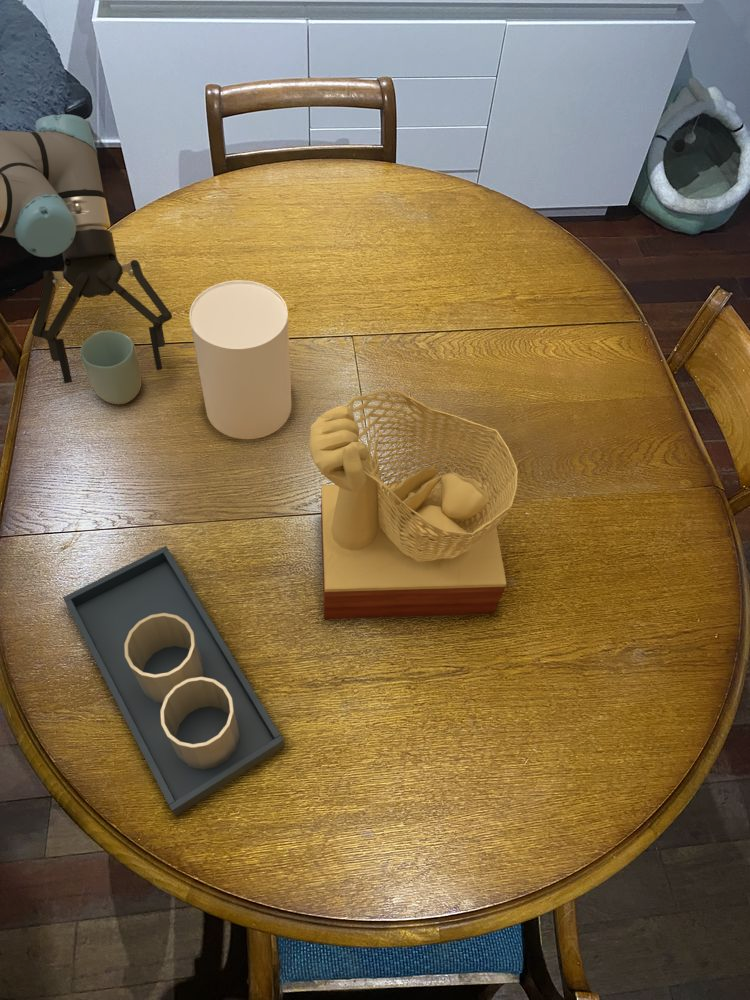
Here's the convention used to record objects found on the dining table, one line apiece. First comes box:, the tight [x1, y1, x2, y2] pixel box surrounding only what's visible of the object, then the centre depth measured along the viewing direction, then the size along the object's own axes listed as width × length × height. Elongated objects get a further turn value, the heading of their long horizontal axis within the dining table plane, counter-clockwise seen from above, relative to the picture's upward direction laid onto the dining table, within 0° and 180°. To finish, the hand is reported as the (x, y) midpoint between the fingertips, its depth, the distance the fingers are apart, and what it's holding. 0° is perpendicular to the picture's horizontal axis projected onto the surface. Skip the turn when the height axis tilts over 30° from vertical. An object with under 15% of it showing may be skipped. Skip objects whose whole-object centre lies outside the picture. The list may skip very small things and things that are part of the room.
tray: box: [62, 545, 285, 817], centre depth 99 cm, size 32×15×3 cm, turn 34°
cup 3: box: [160, 677, 240, 770], centre depth 92 cm, size 8×8×10 cm
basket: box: [308, 389, 519, 620], centre depth 97 cm, size 25×18×35 cm
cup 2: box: [124, 613, 204, 703], centre depth 96 cm, size 8×8×10 cm
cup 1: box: [79, 329, 143, 405], centre depth 121 cm, size 8×8×10 cm
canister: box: [188, 279, 292, 440], centre depth 117 cm, size 14×14×20 cm
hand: (114, 376), depth 120 cm, fingers open, 13 cm apart
